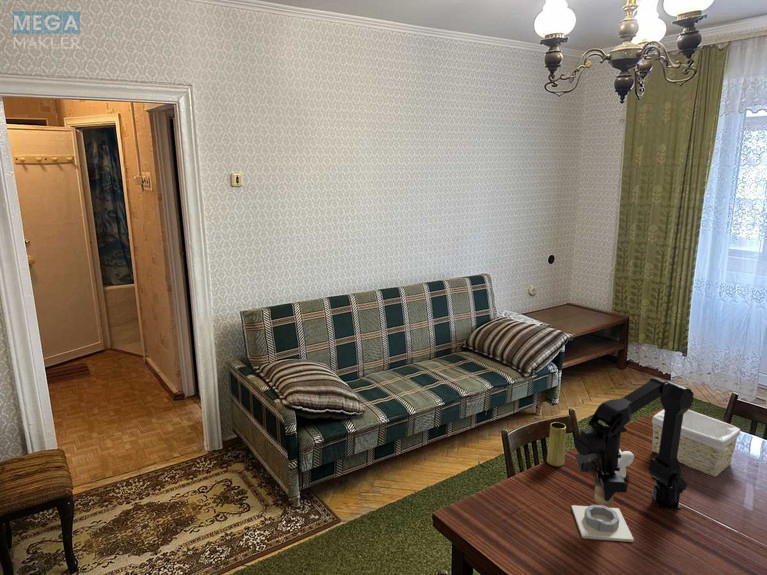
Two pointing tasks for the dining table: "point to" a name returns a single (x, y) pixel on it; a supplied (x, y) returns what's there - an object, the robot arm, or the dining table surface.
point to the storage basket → (701, 441)
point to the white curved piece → (624, 462)
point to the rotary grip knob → (600, 493)
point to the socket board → (601, 523)
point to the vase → (556, 444)
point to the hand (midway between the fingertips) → (604, 495)
